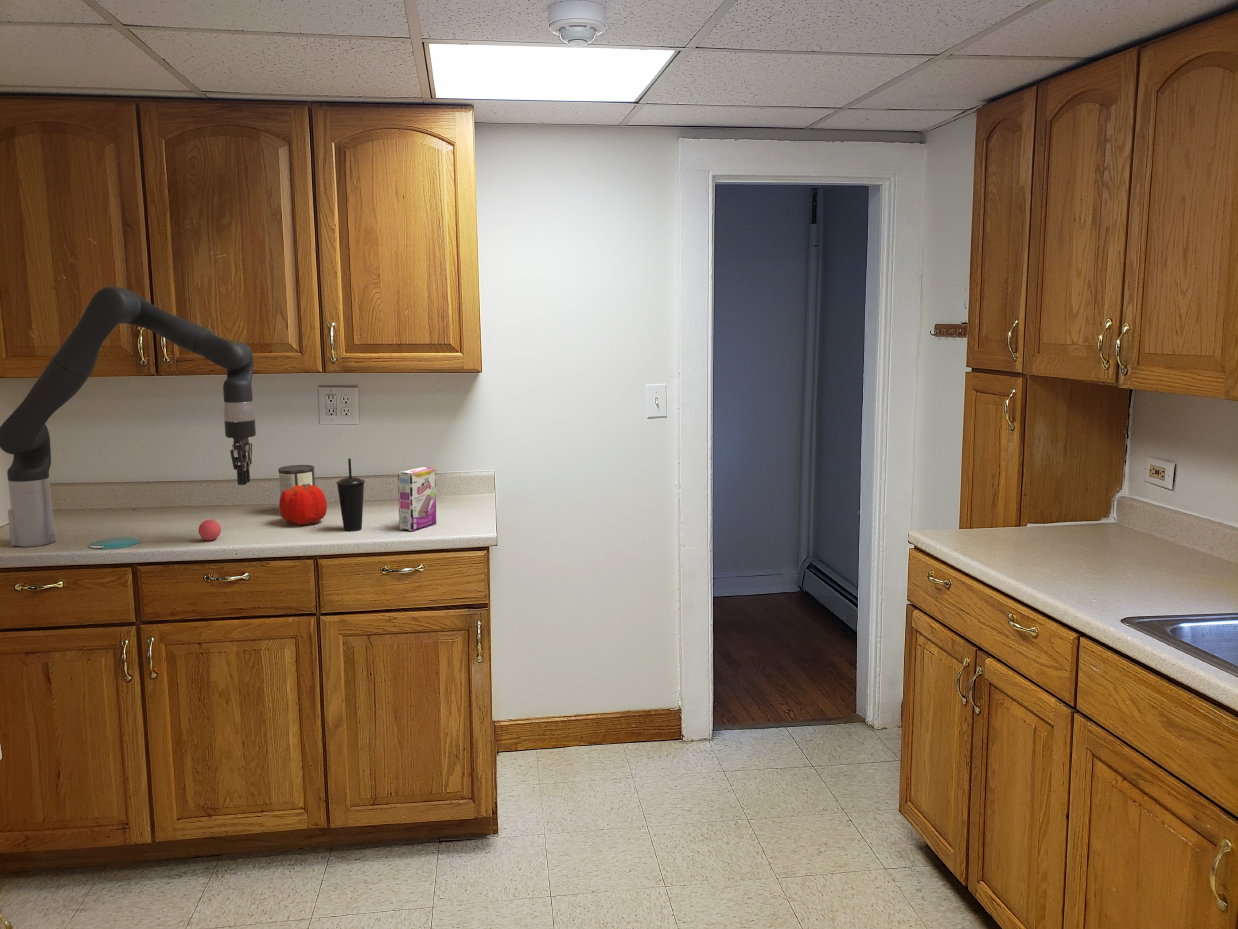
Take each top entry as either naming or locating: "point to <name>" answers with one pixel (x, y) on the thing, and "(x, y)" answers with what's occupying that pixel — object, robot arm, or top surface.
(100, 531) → the top surface
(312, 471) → the coffee can
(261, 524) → the top surface
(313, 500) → the tomato
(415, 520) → the candy bar box
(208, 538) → the ball
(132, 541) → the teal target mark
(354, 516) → the drinking cup
